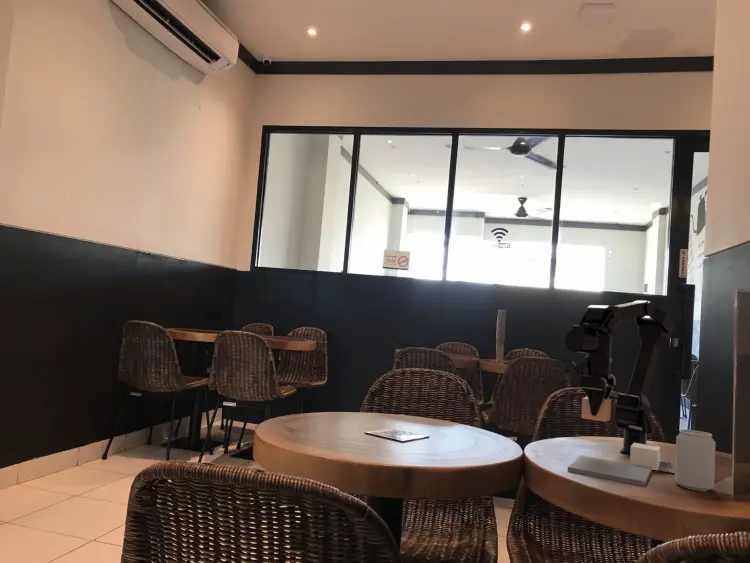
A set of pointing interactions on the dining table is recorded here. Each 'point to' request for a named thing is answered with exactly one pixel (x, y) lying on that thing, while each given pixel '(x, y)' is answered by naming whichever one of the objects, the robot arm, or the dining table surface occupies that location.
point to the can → (695, 460)
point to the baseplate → (611, 470)
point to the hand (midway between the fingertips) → (596, 414)
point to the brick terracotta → (602, 413)
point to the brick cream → (645, 455)
